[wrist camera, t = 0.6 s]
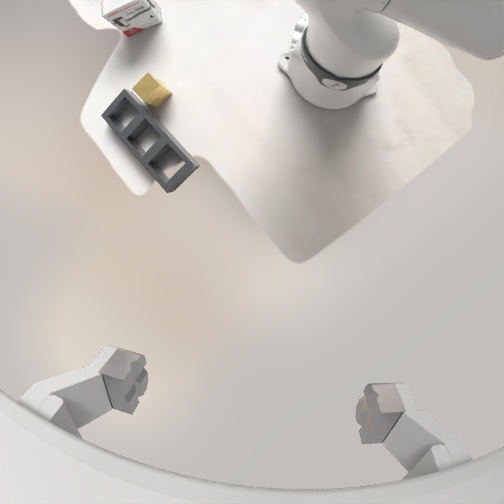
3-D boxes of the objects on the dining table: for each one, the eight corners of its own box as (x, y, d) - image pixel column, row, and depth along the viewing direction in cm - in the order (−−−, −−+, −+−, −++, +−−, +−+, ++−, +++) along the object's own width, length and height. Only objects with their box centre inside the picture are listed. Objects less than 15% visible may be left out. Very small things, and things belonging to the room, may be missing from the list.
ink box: (127, 37, 42) (99, 17, 31) (126, 22, 41) (100, 1, 30) (163, 22, 41) (140, -3, 30) (161, 7, 40) (139, -18, 29)
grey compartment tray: (110, 117, 48) (101, 115, 45) (132, 92, 46) (124, 88, 43) (173, 191, 51) (166, 192, 48) (199, 165, 50) (194, 165, 46)
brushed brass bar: (146, 95, 46) (132, 88, 41) (160, 81, 45) (147, 72, 40) (157, 107, 47) (144, 101, 41) (172, 93, 46) (160, 85, 40)
